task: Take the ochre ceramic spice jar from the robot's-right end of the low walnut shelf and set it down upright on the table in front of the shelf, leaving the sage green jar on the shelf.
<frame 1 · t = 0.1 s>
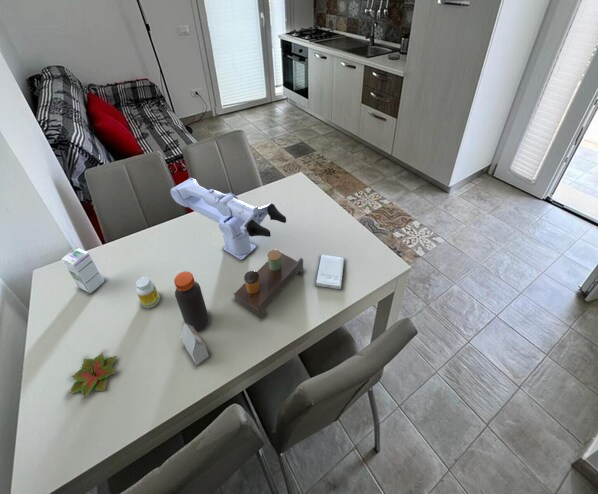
hand: (277, 226, 103), 22 cm above the table, tool horizontal, fingers open, 7 cm apart
syrup box: (92, 285, 112), on the table
sage jar: (275, 265, 113), point 3 cm above the table, touching spice shelf
hard drive: (330, 273, 115), on the table
spice shelf: (270, 285, 110), on the table
vinegar: (197, 322, 100), on the table
supplement bottle: (151, 301, 106), on the table
white gable top packet: (197, 351, 93), on the table
ochre jar: (253, 288, 106), point 3 cm above the table, touching spice shelf
red green leafy plant: (95, 375, 88), on the table
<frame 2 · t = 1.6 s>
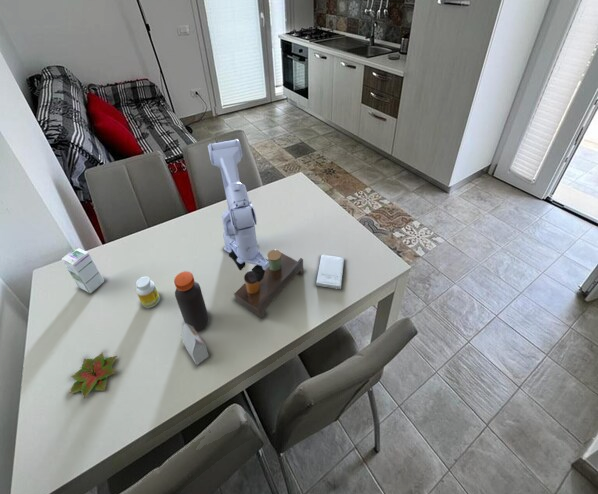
hand: (251, 273, 102), 10 cm above the table, tool pointing down, fingers open, 7 cm apart
nothing on the table moved.
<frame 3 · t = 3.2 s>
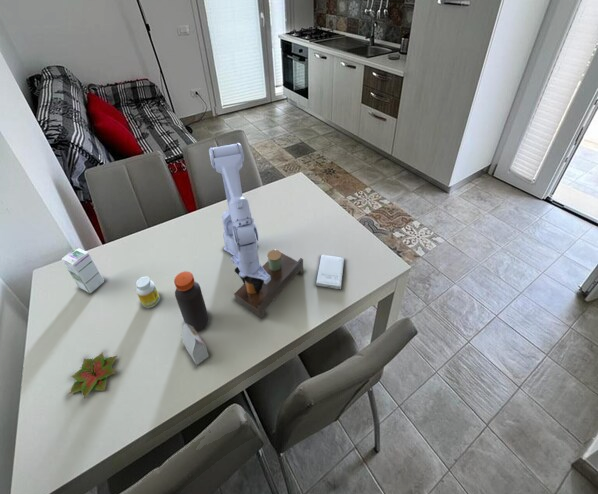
hand: (252, 286, 105), 4 cm above the table, tool pointing down, fingers closed on ochre jar, 4 cm apart
ochre jar: (253, 288, 106), point 4 cm above the table, touching gripper, spice shelf
everything else where it was.
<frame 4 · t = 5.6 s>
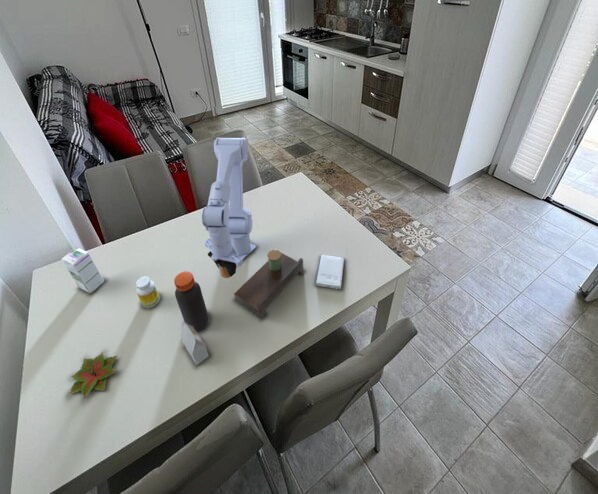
hand: (227, 270, 105), 9 cm above the table, tool pointing down, fingers closed on ochre jar, 4 cm apart
ochre jar: (227, 272, 105), point 8 cm above the table, touching gripper
everything else where it was.
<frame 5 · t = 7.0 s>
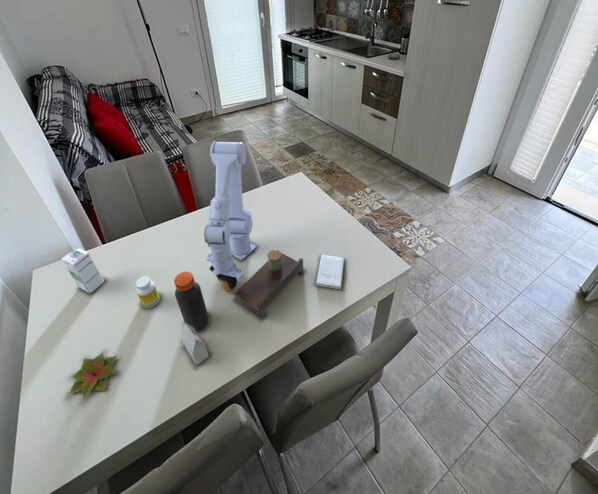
hand: (228, 283, 108), 2 cm above the table, tool pointing down, fingers closed on ochre jar, 4 cm apart
ochre jar: (228, 285, 109), point 1 cm above the table, touching gripper
everything else where it was.
when the fingers open (1 cm above the table, at t = 8.0 s): ochre jar stays where it is, on the table.
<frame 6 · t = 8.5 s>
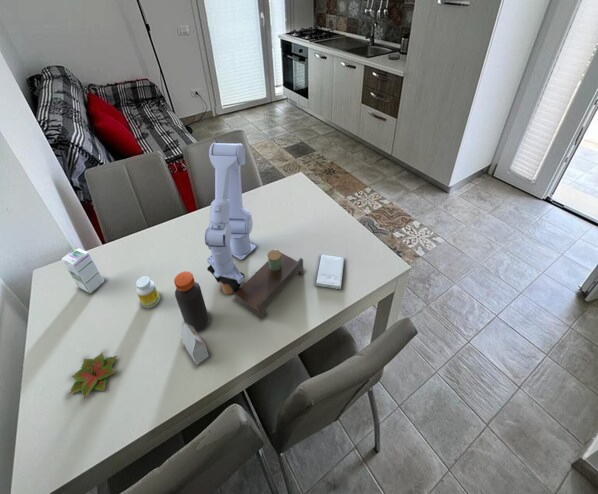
hand: (228, 285, 109), 1 cm above the table, tool pointing down, fingers open, 7 cm apart
ochre jar: (229, 288, 110), on the table
everything else where it was.
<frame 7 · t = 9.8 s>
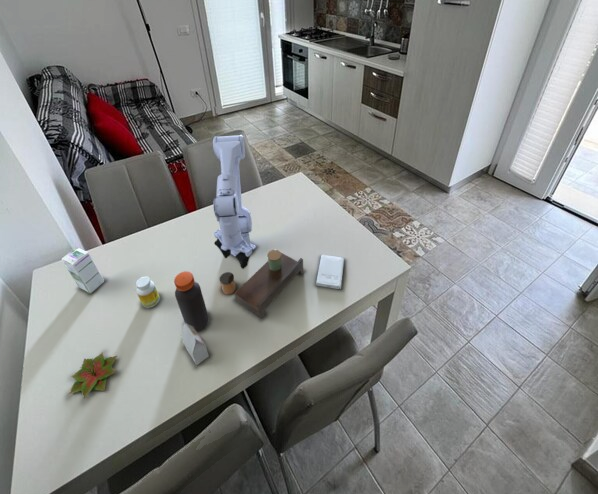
hand: (235, 261, 106), 10 cm above the table, tool pointing down, fingers open, 7 cm apart
nothing on the table moved.
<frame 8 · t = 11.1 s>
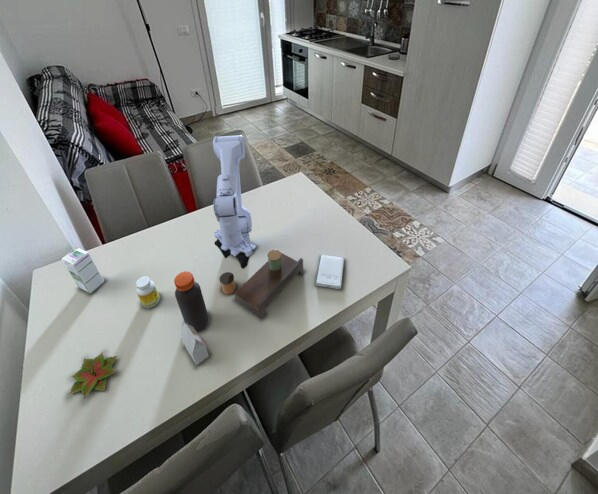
hand: (236, 261, 106), 10 cm above the table, tool pointing down, fingers open, 7 cm apart
nothing on the table moved.
at the end: ochre jar inside the target area (0.1 cm from its centre), on the table; ochre jar tilted 0°; the gripper is holding nothing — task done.
